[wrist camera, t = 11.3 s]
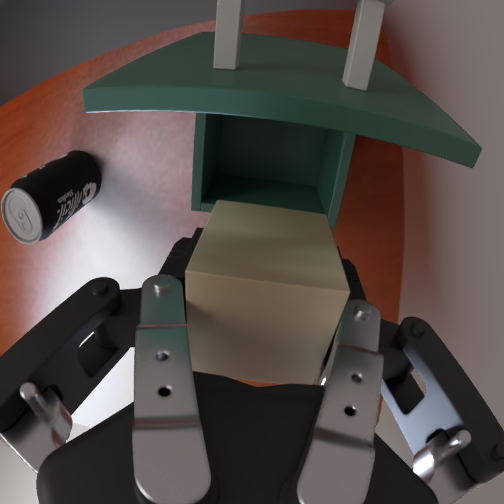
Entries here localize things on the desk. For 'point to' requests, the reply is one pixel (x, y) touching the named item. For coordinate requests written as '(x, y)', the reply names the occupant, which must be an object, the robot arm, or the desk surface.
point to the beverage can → (50, 196)
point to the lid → (286, 84)
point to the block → (263, 293)
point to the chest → (269, 164)
